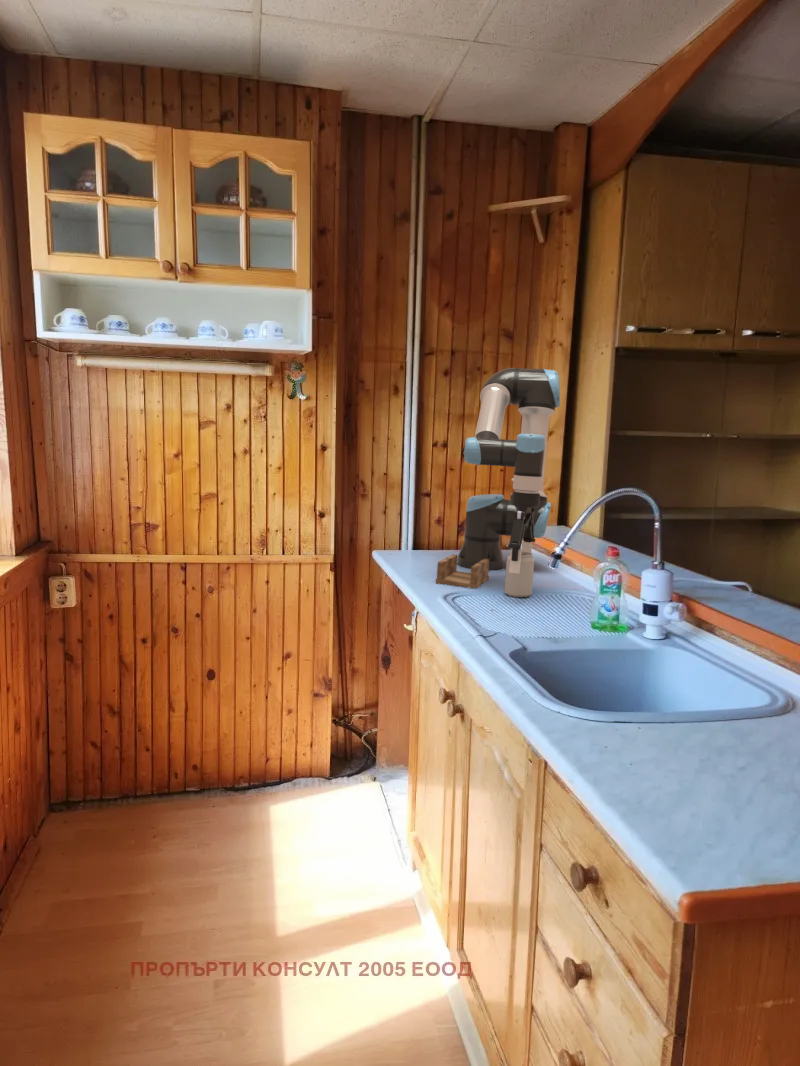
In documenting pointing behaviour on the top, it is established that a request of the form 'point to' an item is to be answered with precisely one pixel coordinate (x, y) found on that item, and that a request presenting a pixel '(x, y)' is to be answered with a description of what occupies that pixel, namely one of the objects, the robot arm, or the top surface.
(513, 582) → the can
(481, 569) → the rack
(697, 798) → the top surface
